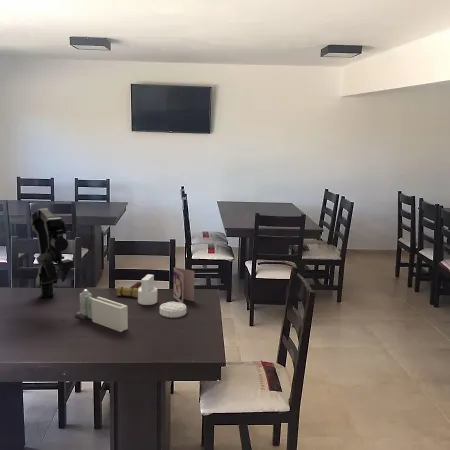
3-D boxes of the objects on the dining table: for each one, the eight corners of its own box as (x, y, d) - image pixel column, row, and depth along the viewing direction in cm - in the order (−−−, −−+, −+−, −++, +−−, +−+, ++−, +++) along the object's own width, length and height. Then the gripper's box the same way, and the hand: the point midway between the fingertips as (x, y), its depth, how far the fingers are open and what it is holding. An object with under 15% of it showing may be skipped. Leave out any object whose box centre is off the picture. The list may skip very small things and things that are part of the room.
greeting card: (171, 297, 245) (172, 267, 242) (185, 295, 249) (186, 265, 246) (181, 304, 236) (181, 274, 232) (195, 302, 239) (196, 272, 236)
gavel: (131, 277, 264) (150, 279, 262) (131, 286, 264) (149, 287, 263) (116, 287, 243) (136, 289, 241) (116, 296, 244) (136, 298, 242)
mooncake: (190, 310, 230) (190, 303, 229) (179, 319, 219) (179, 312, 218) (166, 306, 234) (166, 299, 233) (154, 315, 223) (154, 307, 222)
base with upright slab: (153, 305, 233) (153, 281, 231) (135, 303, 235) (135, 279, 233) (159, 299, 242) (159, 275, 240) (142, 297, 244) (142, 273, 241)
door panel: (87, 317, 217) (86, 297, 215) (90, 316, 218) (89, 296, 216) (106, 324, 210) (106, 303, 208) (109, 323, 211) (109, 303, 209)
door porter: (75, 316, 218) (74, 289, 216) (84, 312, 222) (83, 286, 220) (84, 319, 215) (83, 292, 213) (93, 315, 219) (92, 289, 217)
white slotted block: (92, 321, 213) (91, 299, 211) (99, 318, 216) (98, 296, 214) (120, 331, 204) (120, 308, 202) (127, 328, 207) (127, 305, 205)
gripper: (26, 245, 221) (27, 279, 224) (53, 253, 210) (54, 288, 214) (47, 241, 230) (49, 274, 233) (74, 247, 219) (75, 282, 223)
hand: (56, 279), depth 225 cm, fingers open, 9 cm apart
